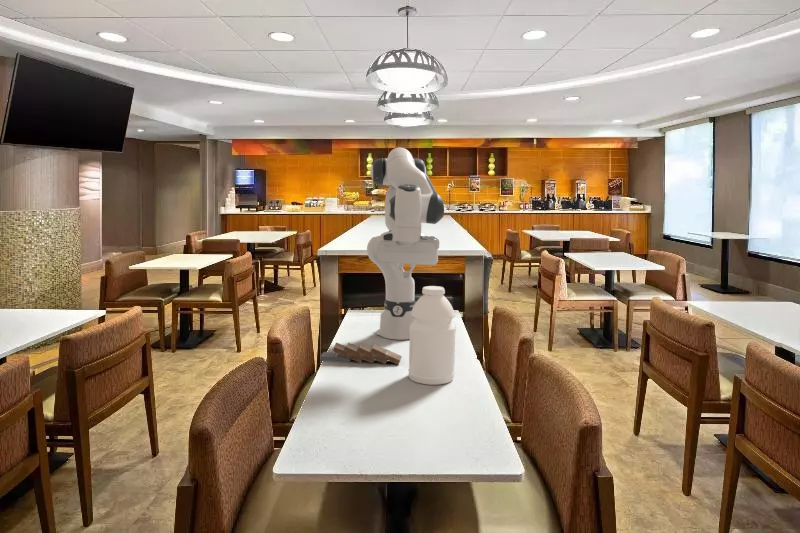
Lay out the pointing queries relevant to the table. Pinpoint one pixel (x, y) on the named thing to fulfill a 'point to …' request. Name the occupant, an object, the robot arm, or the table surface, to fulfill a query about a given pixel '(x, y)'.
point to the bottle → (432, 338)
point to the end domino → (333, 357)
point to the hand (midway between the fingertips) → (406, 277)
